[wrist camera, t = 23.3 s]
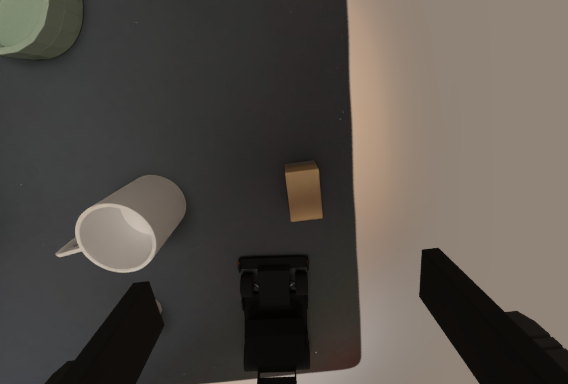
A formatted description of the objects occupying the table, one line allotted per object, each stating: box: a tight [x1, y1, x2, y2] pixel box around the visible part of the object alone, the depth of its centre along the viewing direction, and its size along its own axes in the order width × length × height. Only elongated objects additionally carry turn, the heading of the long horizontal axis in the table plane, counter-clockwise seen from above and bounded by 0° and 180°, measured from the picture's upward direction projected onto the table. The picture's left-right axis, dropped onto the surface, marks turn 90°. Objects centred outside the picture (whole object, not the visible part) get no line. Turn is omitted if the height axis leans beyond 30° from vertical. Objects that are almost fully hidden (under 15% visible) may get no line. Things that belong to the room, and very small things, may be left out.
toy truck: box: [238, 256, 310, 384], centre depth 41 cm, size 10×20×7 cm, turn 1°
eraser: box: [284, 160, 323, 222], centre depth 35 cm, size 6×4×4 cm, turn 7°
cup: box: [55, 175, 186, 273], centre depth 33 cm, size 8×12×10 cm
